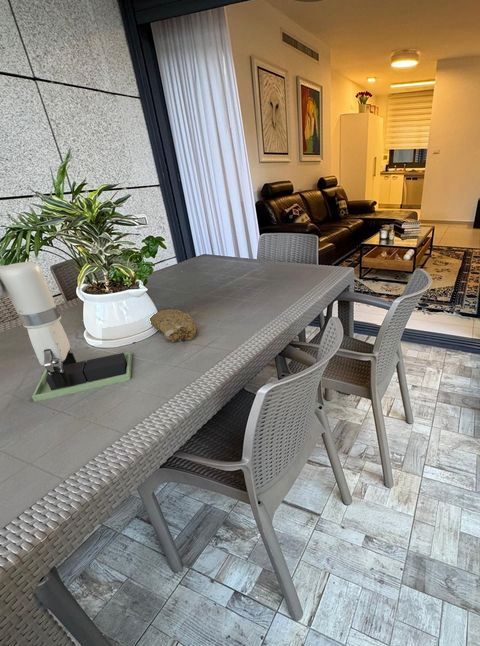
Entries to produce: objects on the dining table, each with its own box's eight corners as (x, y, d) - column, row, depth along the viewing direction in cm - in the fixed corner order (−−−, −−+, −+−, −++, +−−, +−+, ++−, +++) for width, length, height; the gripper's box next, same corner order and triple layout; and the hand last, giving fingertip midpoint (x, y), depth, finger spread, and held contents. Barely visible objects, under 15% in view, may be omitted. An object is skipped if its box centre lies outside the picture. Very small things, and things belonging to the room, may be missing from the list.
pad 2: (88, 382, 92) (83, 371, 90) (91, 371, 96) (86, 360, 95) (126, 373, 95) (122, 362, 93) (127, 363, 99) (123, 352, 98)
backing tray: (35, 403, 85) (31, 396, 84) (47, 376, 96) (44, 369, 95) (130, 381, 92) (128, 374, 91) (132, 358, 103) (130, 352, 102)
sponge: (203, 341, 114) (188, 309, 127) (194, 322, 108) (180, 291, 121) (162, 357, 110) (151, 323, 123) (151, 339, 104) (141, 306, 117)
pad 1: (51, 390, 89) (45, 379, 87) (56, 378, 94) (50, 367, 92) (87, 382, 92) (82, 371, 90) (90, 371, 96) (85, 360, 95)
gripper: (31, 306, 89) (57, 363, 97) (9, 333, 75) (42, 398, 83) (65, 301, 92) (88, 357, 100) (50, 326, 78) (78, 389, 86)
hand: (67, 375), depth 92 cm, fingers open, 9 cm apart
